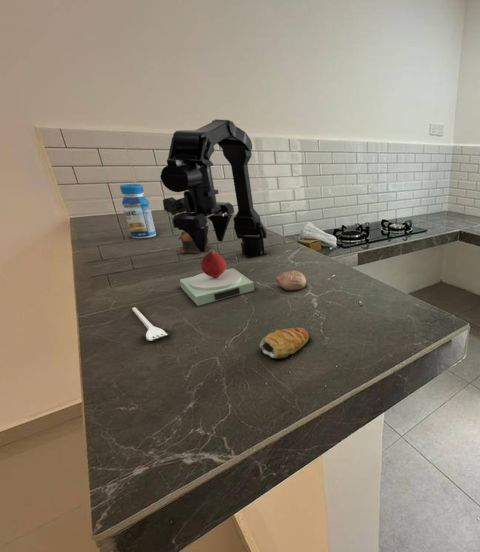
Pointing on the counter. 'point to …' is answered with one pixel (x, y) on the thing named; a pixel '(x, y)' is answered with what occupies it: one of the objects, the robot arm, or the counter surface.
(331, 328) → the counter surface
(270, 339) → the pastry
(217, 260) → the onion
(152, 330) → the fork
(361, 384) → the counter surface
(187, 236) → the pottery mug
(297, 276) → the pink oval lump
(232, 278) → the scale
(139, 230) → the beverage bottle
